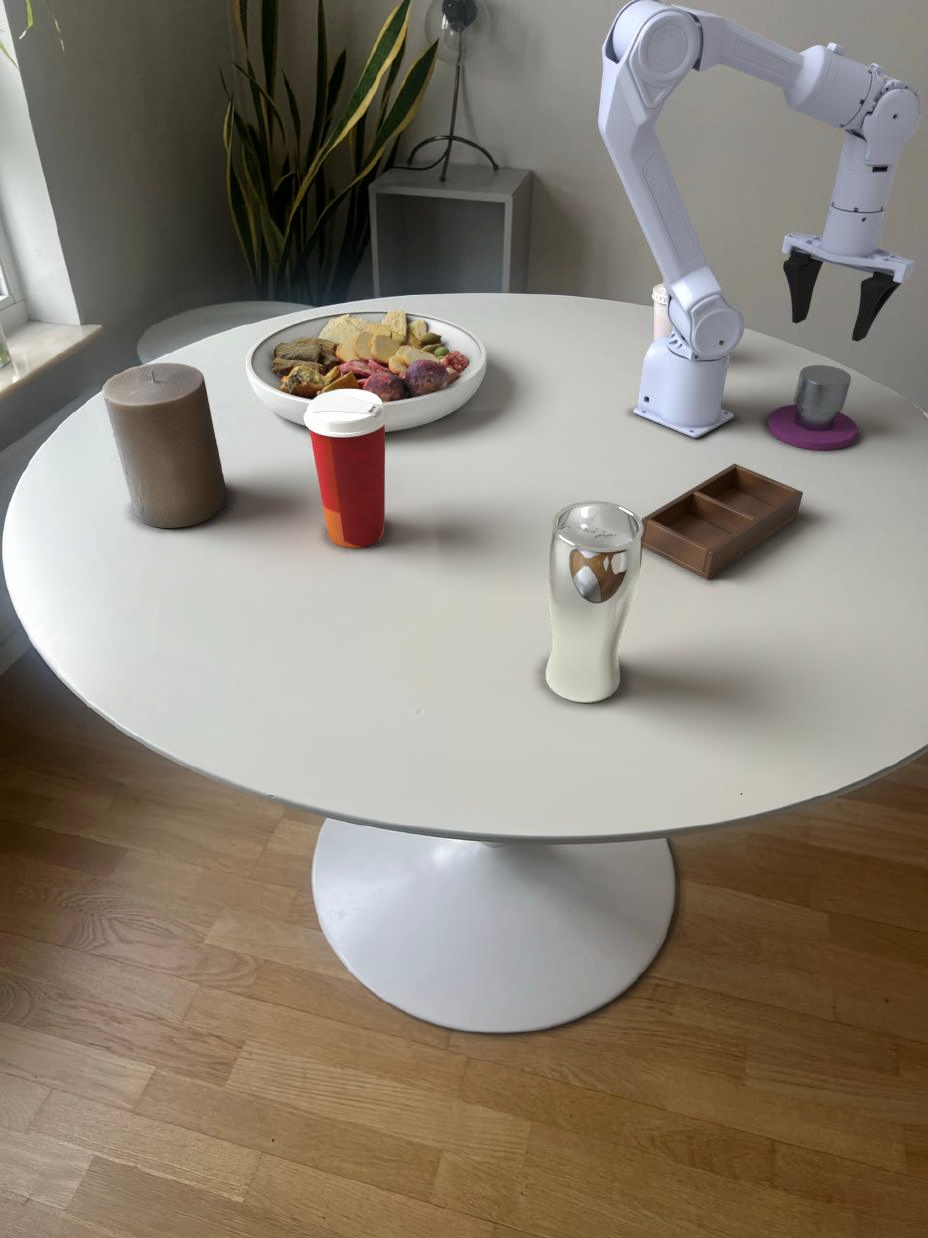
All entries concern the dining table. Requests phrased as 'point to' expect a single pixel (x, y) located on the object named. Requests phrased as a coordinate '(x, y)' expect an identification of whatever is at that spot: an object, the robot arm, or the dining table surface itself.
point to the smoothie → (661, 313)
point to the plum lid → (794, 435)
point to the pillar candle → (166, 444)
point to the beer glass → (591, 596)
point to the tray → (720, 520)
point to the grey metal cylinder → (820, 396)
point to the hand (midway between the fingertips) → (828, 329)
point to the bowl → (369, 364)
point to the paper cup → (350, 463)
